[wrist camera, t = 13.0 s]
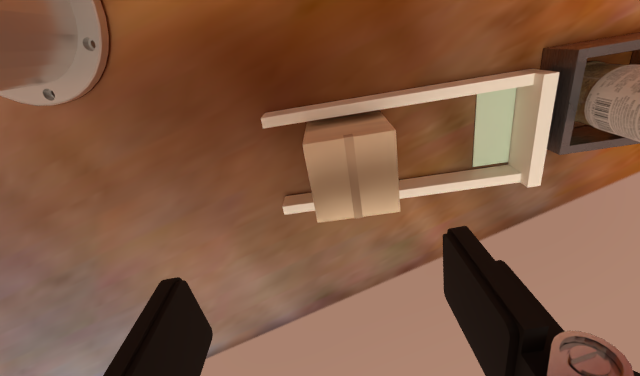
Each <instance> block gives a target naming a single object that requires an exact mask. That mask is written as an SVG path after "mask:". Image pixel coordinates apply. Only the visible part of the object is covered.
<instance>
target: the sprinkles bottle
mask: <svg viewBox="0 0 640 376" xmlns="http://www.w3.org/2000/svg"><path fill="white" fill-rule="evenodd" d="M575 121H578V122H581V123H585V124H588V125H591V126H593V127H594V128H597V129H600V130H603V131H606V132H609V133H612V134H616V135H619V136H622V137H625V138H628V139H632V140H635V141H638V142H640V65H635V64H634V65H621V64H607V63H604V62H599V61H591V62H587V63H586V66H585V71H584V76H583V81H582V86H581V91H580V96H579V101H578V106H577V111H576V116H575Z"/></svg>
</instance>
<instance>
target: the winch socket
mask: <svg viewBox="0 0 640 376" xmlns="http://www.w3.org/2000/svg"><path fill="white" fill-rule="evenodd" d="M627 51H633V54H632V58H631V62H630V65H634V64H635V65H640V32H638V33H632V34H626V35H620V36H614V37H609V38H603V39H597V40H591V41H585V42H579V43H573V44H567V45H562V46H556V47H550V48H544V49H543V55H542V62H541V69H540V70H547V71H555V72H559V78H558V84H557V90H556V96H555V102H554V108H553V114H552V120H551V126H550V132H549V138H548V144H547V149H548V150H550V151H552V152H554V153H557V154H559V155H562V154H569V153H576V152H583V151H590V150H597V149H604V148H610V147H617V146H624V145H631V144H638V143H640V142H638V141H635V140H632V139H628V138H625V137H622V136H619V135H616V134H612V133H609V132H606V131H603V130H600V129H597V128H594V127H593V126H591V125H589V126H582V127H575V128H573V126H574V121H575V116H576V111H577V106H578V101H579V96H580V91H581V86H582V81H583V76H584V71H585V66H586V61H587V58H591V57H597V56H603V55H609V54H615V53H621V52H627Z"/></svg>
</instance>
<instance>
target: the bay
mask: <svg viewBox="0 0 640 376" xmlns="http://www.w3.org/2000/svg"><path fill="white" fill-rule="evenodd" d="M558 78H559V72H555V71H547V70H539V69H526V70H520V71H514V72H508V73H502V74H496V75H490V76H484V77H478V78H472V79H466V80H460V81H454V82H448V83H442V84H436V85H430V86H424V87H418V88H412V89H406V90H400V91H394V92H388V93H381V94H375V95H369V96H363V97H357V98H351V99H345V100H339V101H333V102H327V103H321V104H315V105H309V106H303V107H297V108H291V109H285V110H279V111H273V112H267V113H264V115H263V116H262V117H261V122H262V126H263V129H264V128H270V127H276V126H282V125H288V124H295V123H301V122H307V121H313V120H319V119H326V118H332V117H338V116H344V115H350V114H356V113H363V112H369V111H375V110H381V109H387V108H394V107H400V106H406V105H412V104H418V103H424V102H431V101H437V100H443V99H449V98H455V97H462V96H468V95H474V94H477V95H476V112H475V129H474V146H473V163H472V167H476V166H483V165H490V164H497V163H504V162H508V165H501V166H494V167H487V168H480V169H473V170H466V171H459V172H452V173H445V174H438V175H431V176H424V177H417V178H410V179H403V180H399V197H400V199H402V198H409V197H416V196H424V195H431V194H438V193H445V192H453V191H460V190H467V189H474V188H482V187H489V186H496V185H503V184H511V183H518V182H520V183H522V184H523V185H525V186H526V187H534V186H540V185H541V179H542V173H543V167H544V161H545V155H546V149H547V144H548V138H549V132H550V126H551V120H552V114H553V108H554V102H555V96H556V90H557V84H558ZM283 211H284V215H286V214H293V213H300V212H308V211H315V207H314V202H313V197H312V193H305V194H298V195H291V196H285V199H284V203H283Z"/></svg>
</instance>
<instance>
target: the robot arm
mask: <svg viewBox="0 0 640 376" xmlns="http://www.w3.org/2000/svg"><path fill="white" fill-rule="evenodd" d="M108 48H109V34H108V28H107V22H106V16H105V13H104V10H103V7H102V4H101V1H100V0H0V96H2V97H4V98H7V99H10V100H13V101H16V102H19V103H23V104H29V105H35V106H50V105H57V104H61V103H66V102H69V101H72V100H75V99H78V98H80V97H81V96H83V95H84V94H86V93H87V92H89V91H90V90H91V89H92V88H93V87H94V85H95V84H96V83H97V82H98V81H99V79H100V77H101V75H102V73H103V71H104V69H105V66H106V61H107V57H108ZM443 267H444V268H443V272H444V294H445V297H446V300H447V302H448V304H449V306H450V307H451V309H452V311H453V313H454V315H455V317H456V319H457V321H458V323H459V325H460V327H461V329H462V331H463V333H464V335H465V337H466V339H467V341H468V342H469V344H470V346H471V348H472V350H473V352H474V354H475V356H476V358H477V360H478V362H479V364H480V366H481V368H482V369H483V372H484V373H485V375H486V376H640V373H638V372H635V371H633V370H632V366H631V364H630V363H629V361H628V360H627V358H626V357H625V355H623V354H622V353H621V352H620V351H619V350H618V349H617V348H616V347H615V346H613V345H612V344H610V343H608V342H607V341H605V340H604V339H602V338H599V337H597V336H595V335H592V334H589V333H585V332H581V331H566V332H565V331H564V330H563V329H562V328H561V327H560V326H559V325H558V323H557V322H556V321H555V320H554V319H553V317H552V316H551V315H550V314H549V313H548V312H547V311H546V309H545V308H544V307H543V306H542V305H541V303H540V302H539V301H538V300H537V299H536V298H535V297H534V295H533V294H532V293H531V292H530V291H529V290H528V288H527V287H526V286H525V285H524V284H523V283H522V281H521V280H520V279H519V278H518V277H517V276H516V275H515V274H514V272H513V271H512V270H511V269H510V268H509V266H508V265H507V264H506V263H505V262H503V261H501V260H498V261H495V260H494V259H493V258H492V257H491V255H490V254H489V253H488V252H487V250H486V249H485V248H484V247H483V245H482V244H481V243H480V242H479V240H478V239H477V238H476V237H475V236H474V234H473V233H472V232H471V231H470V230H469V228H468V227H467V226H462V227H456V228H451V229H448V232H447V234H443ZM211 340H212V329H211V327H210V325H209V323H208V321H207V319H206V317H205V315H204V314H203V312H202V310H201V308H200V306H199V304H198V302H197V301H196V299H195V297H194V295H193V293H192V291H191V289H190V288H189V286H188V284H187V282H186V281H182V279H181V278H172V279H166V280H162V281H161V282H160V283H159V285H158V286H157V288H156V290H155V291H154V293H153V295H152V296H151V298H150V300H149V301H148V303H147V305H146V306H145V308H144V309H143V311H142V313H141V314H140V316H139V318H138V319H137V321H136V323H135V324H134V326H133V328H132V329H131V331H130V332H129V334H128V336H127V337H126V339H125V341H124V342H123V344H122V346H121V347H120V349H119V351H118V352H117V354H116V355H115V357H114V359H113V360H112V362H111V364H110V365H109V367H108V369H107V370H106V372H105V374H104V375H103V376H200V375H201V371H202V368H203V365H204V362H205V359H206V356H207V353H208V350H209V347H210V344H211Z"/></svg>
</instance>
